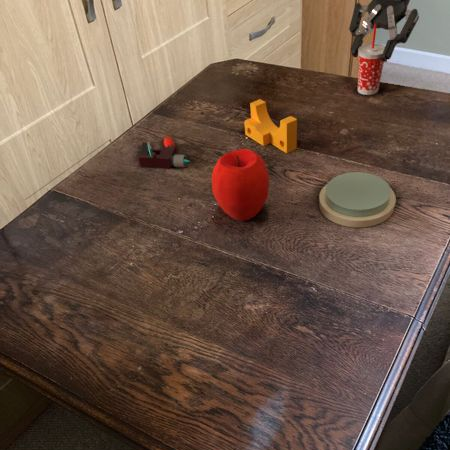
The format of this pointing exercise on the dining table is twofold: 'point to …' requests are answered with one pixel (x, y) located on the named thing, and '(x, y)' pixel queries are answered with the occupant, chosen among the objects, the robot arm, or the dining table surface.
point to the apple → (240, 183)
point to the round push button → (357, 200)
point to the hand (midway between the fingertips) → (368, 57)
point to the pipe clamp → (271, 128)
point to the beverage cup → (370, 67)
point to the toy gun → (161, 156)
